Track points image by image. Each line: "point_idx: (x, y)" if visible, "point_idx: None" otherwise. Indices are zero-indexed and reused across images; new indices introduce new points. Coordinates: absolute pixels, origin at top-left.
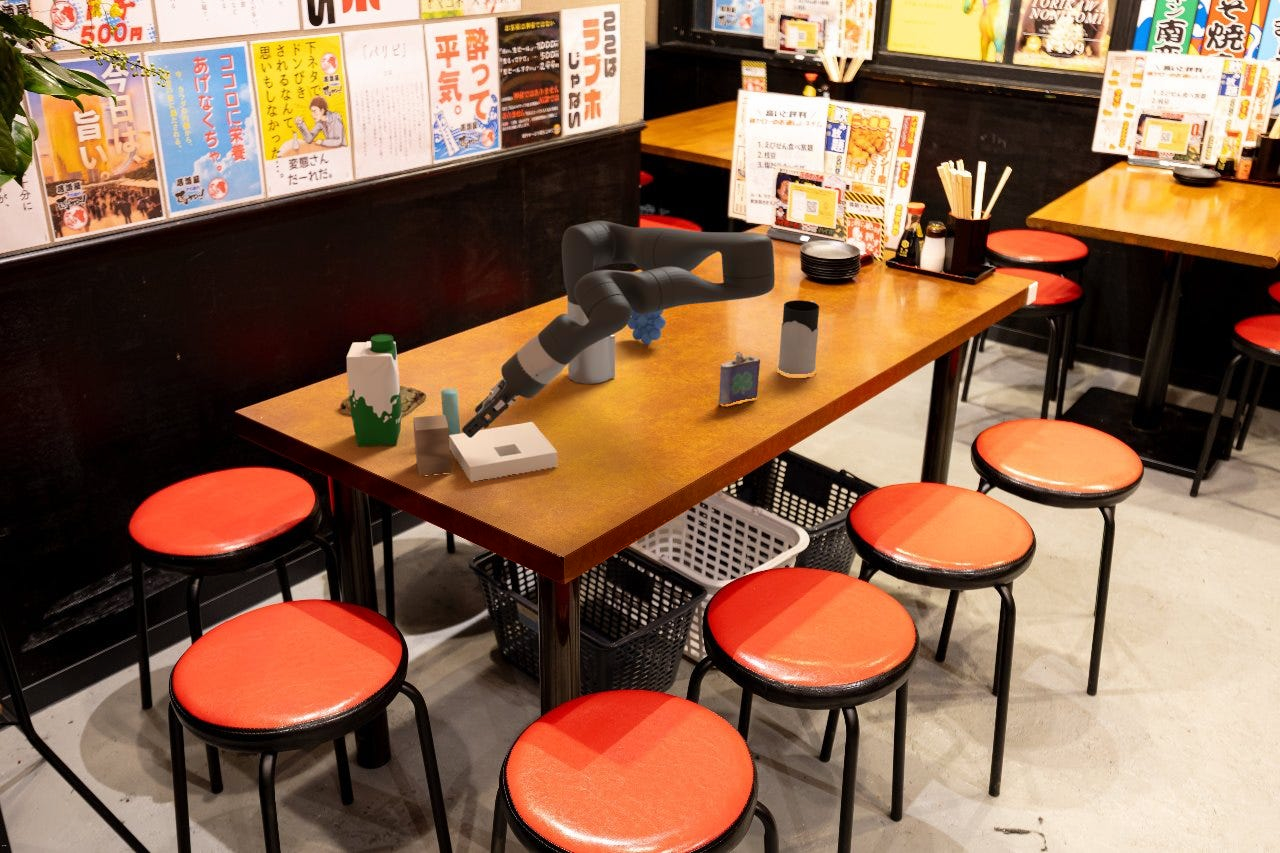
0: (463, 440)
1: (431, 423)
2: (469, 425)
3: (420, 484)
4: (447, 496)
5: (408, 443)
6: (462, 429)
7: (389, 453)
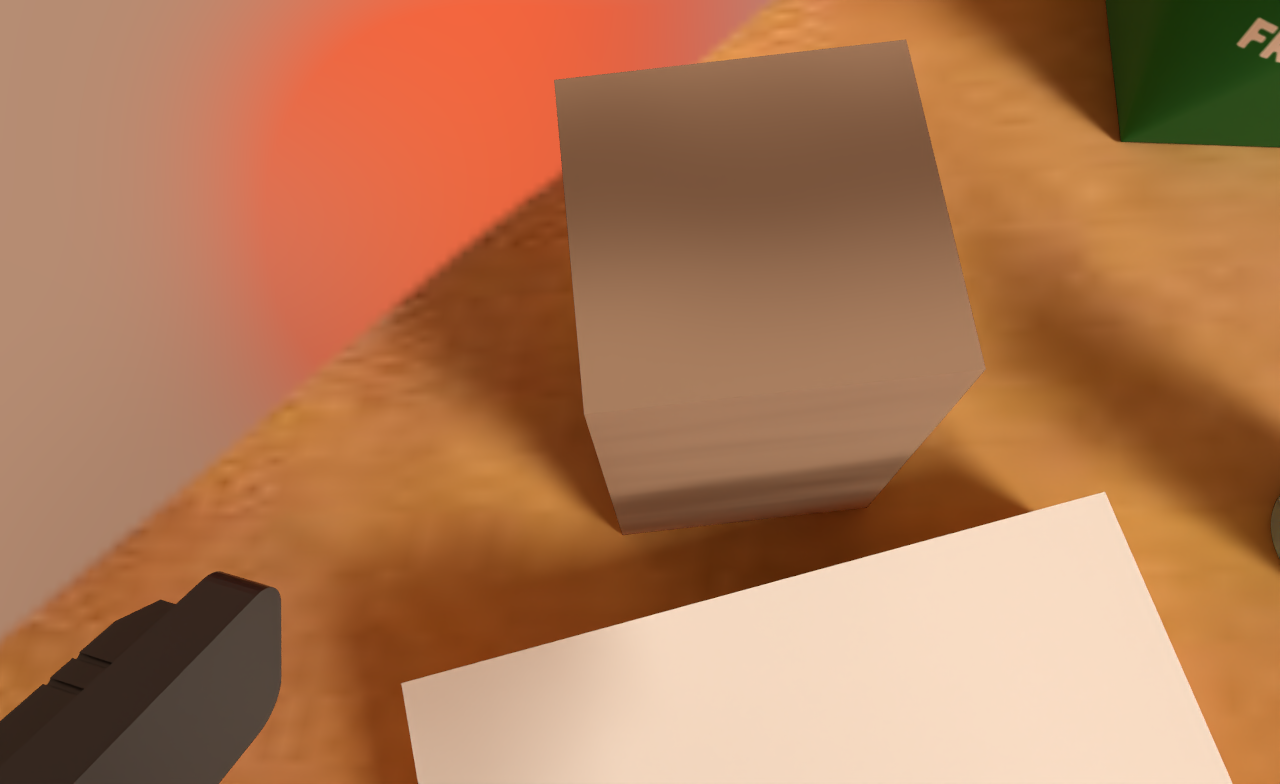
0: (988, 627)
1: (727, 225)
2: (76, 682)
3: (484, 323)
4: (261, 508)
5: (1162, 218)
6: (217, 578)
7: (990, 110)
